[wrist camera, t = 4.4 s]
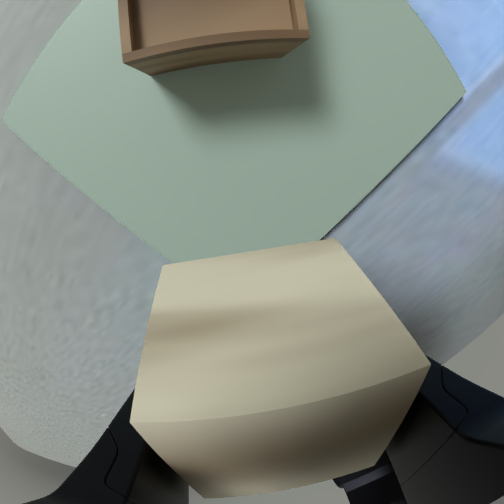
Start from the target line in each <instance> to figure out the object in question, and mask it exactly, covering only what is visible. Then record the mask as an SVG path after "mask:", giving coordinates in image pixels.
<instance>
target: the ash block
mask: <svg viewBox="0 0 504 504" xmlns="http://www.w3.org/2000/svg"><path fill="white" fill-rule="evenodd" d="M430 366H431V363H430V362H429V360H428V359H427V357H426V356H425V354H424V353H423V351H422V350H421V349H420V347H419V346H418V344H417V343H416V342H415V340H414V339H413V337H412V336H411V334H410V333H409V332H408V330H407V329H406V328H405V326H404V325H403V323H402V322H401V321H400V319H399V318H398V317H397V315H396V314H395V313H394V311H393V310H392V309H391V307H390V306H389V305H388V303H387V302H386V301H385V299H384V298H383V297H382V295H381V294H380V293H379V292H378V290H377V289H376V288H375V286H374V285H373V284H372V283H371V281H370V280H369V279H368V278H367V276H366V275H365V274H364V273H363V271H362V270H361V269H360V268H359V266H358V265H357V264H356V263H355V261H354V260H353V259H352V258H351V256H350V255H349V254H348V253H347V252H346V250H345V249H344V248H343V247H342V246H341V244H340V243H339V242H338V241H337V240H336V238H332V239H326V240H319V241H313V242H307V243H300V244H294V245H287V246H281V247H275V248H268V249H262V250H256V251H249V252H243V253H237V254H231V255H224V256H218V257H212V258H205V259H199V260H193V261H186V262H180V263H174V264H167V265H163V266H162V270H161V274H160V278H159V281H158V285H157V289H156V293H155V297H154V301H153V305H152V310H151V314H150V318H149V322H148V327H147V331H146V336H145V341H144V345H143V350H142V355H141V360H140V365H139V370H138V375H137V381H136V386H135V392H134V398H133V404H132V410H131V417H130V423H131V425H132V426H133V427H134V428H135V429H136V431H137V432H138V433H139V434H140V435H141V436H142V437H143V439H144V440H145V441H146V442H147V443H148V444H149V445H150V446H151V447H152V449H153V450H154V451H155V452H156V453H157V454H158V455H159V456H160V457H161V458H162V459H163V460H164V461H165V462H166V463H167V464H168V465H169V466H170V467H171V468H172V469H173V470H174V471H175V472H176V473H177V474H178V475H179V476H180V477H181V478H182V479H183V480H184V481H185V482H187V483H188V484H189V485H190V486H191V487H192V488H193V489H194V490H195V491H197V492H198V493H199V494H200V495H201V496H202V497H204V498H224V497H236V496H246V495H254V494H262V493H268V492H275V491H281V490H286V489H291V488H296V487H301V486H306V485H310V484H314V483H318V482H322V481H326V480H330V479H334V478H337V477H341V476H344V475H347V474H351V473H354V472H357V471H360V470H363V469H366V468H369V467H372V466H374V465H375V464H376V462H377V461H378V459H379V458H380V456H381V455H382V453H383V452H384V450H385V449H386V447H387V446H388V444H389V442H390V441H391V439H392V438H393V436H394V434H395V433H396V431H397V429H398V428H399V426H400V424H401V423H402V421H403V419H404V417H405V416H406V414H407V412H408V410H409V408H410V406H411V405H412V403H413V401H414V399H415V397H416V395H417V393H418V391H419V389H420V387H421V385H422V383H423V381H424V379H425V377H426V375H427V372H428V370H429V368H430Z"/></svg>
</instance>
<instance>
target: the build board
mask: <svg viewBox="0 0 504 504" xmlns="http://www.w3.org/2000/svg"><path fill="white" fill-rule="evenodd" d="M304 3H305V9H306V15H307V22H308V28H309V35H310V39H308V40H307V41H305V42H304V43H302V44H301V45H299V46H298V47H296V48H295V49H293V50H292V51H291V52H289V53H288V54H286V55H285V56H283V57H282V58H272V59H257V60H245V61H235V62H226V63H219V64H211V65H205V66H198V67H193V68H187V69H182V70H176V71H172V72H167V73H162V74H158V75H153V76H149V75H147V74H145V73H143V72H141V71H139V70H137V69H135V68H132V67H130V66H128V65H126V64H124V63H123V60H122V50H121V40H120V28H119V14H118V0H83V1H82V2H81V3H80V4H79V5H78V6H77V7H76V9H75V10H74V11H73V12H72V13H71V14H70V15H69V17H68V18H67V19H66V20H65V21H64V23H63V24H62V25H61V26H60V28H59V29H58V30H57V32H56V33H55V34H54V35H53V37H52V38H51V39H50V41H49V42H48V44H47V45H46V46H45V48H44V49H43V51H42V52H41V53H40V55H39V56H38V58H37V59H36V61H35V62H34V64H33V65H32V67H31V68H30V70H29V72H28V73H27V75H26V76H25V78H24V80H23V81H22V83H21V85H20V87H19V88H18V90H17V92H16V94H15V95H14V97H13V99H12V101H11V103H10V105H9V107H8V109H7V110H6V112H5V114H4V116H3V119H2V121H3V122H4V123H5V124H6V125H7V126H8V127H9V128H10V129H11V130H12V131H13V132H14V133H16V134H17V135H18V136H19V137H20V138H21V139H22V140H23V141H24V142H25V143H26V144H27V145H29V146H30V147H31V148H32V149H33V150H34V151H35V152H36V153H37V154H39V155H40V156H41V157H42V158H43V159H44V160H45V161H47V162H48V163H49V164H50V165H51V166H52V167H53V168H55V169H56V170H57V171H58V172H59V173H60V174H62V175H63V176H64V177H65V178H66V179H67V180H69V181H70V182H71V183H72V184H73V185H74V186H76V187H77V188H78V189H79V190H80V191H82V192H83V193H84V194H85V195H86V196H88V197H89V198H90V199H91V200H93V201H94V202H95V203H96V204H97V205H99V206H100V207H101V208H102V209H104V210H105V211H106V212H107V213H109V214H110V215H111V216H112V217H114V218H115V219H116V220H117V221H119V222H120V223H121V224H123V225H124V226H125V227H126V228H128V229H129V230H130V231H132V232H133V233H134V234H135V235H137V236H138V237H139V238H141V239H142V240H143V241H145V242H146V243H147V244H148V245H150V246H151V247H152V248H154V249H155V250H156V251H158V252H159V253H160V254H162V255H163V256H164V257H166V258H167V259H168V260H170V261H171V262H173V263H180V262H186V261H193V260H199V259H205V258H212V257H218V256H224V255H231V254H237V253H243V252H249V251H256V250H262V249H268V248H275V247H281V246H287V245H294V244H300V243H307V242H313V241H319V240H320V239H321V238H322V237H323V236H324V235H326V234H327V233H328V232H329V231H330V230H331V229H332V228H333V227H334V226H335V225H336V224H337V223H338V222H339V221H340V220H341V219H342V218H343V217H344V216H346V215H347V214H348V213H349V212H350V211H351V210H352V209H353V208H354V207H355V206H356V205H357V204H358V203H359V202H360V201H361V200H362V199H363V198H364V197H365V196H366V195H367V194H368V193H369V192H370V191H371V190H372V189H373V188H374V187H375V186H376V185H377V184H378V183H379V182H380V181H381V180H382V179H383V178H384V177H385V176H386V175H387V174H388V173H389V172H390V171H391V170H392V169H393V168H394V167H395V166H396V165H397V164H398V163H399V162H400V161H401V160H402V159H403V158H404V157H405V156H406V155H407V154H408V153H409V152H410V151H411V150H412V149H413V148H414V147H415V146H416V145H417V144H418V143H419V142H420V141H421V140H422V139H423V138H424V137H425V136H426V135H427V134H428V133H429V132H430V130H431V129H432V128H433V127H434V126H435V125H436V124H437V123H438V122H439V121H440V120H441V119H442V118H443V117H444V116H445V115H446V114H447V112H448V111H449V110H450V109H451V108H452V107H453V106H454V105H455V104H456V103H457V102H458V101H459V99H460V98H461V97H462V96H463V95H464V94H465V93H466V90H465V88H464V86H463V84H462V82H461V80H460V79H459V77H458V75H457V73H456V72H455V70H454V68H453V66H452V65H451V63H450V61H449V60H448V58H447V56H446V55H445V53H444V52H443V50H442V49H441V47H440V45H439V44H438V42H437V41H436V39H435V38H434V37H433V35H432V34H431V32H430V31H429V29H428V28H427V27H426V25H425V24H424V23H423V21H422V20H421V19H420V17H419V16H418V15H417V13H416V12H415V11H414V9H413V8H412V7H411V6H410V4H409V3H408V2H407V1H406V0H304Z"/></svg>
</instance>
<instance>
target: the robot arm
mask: <svg viewBox="0 0 504 504" xmlns="http://www.w3.org/2000/svg"><path fill="white" fill-rule="evenodd" d="M425 356H426V355H425ZM426 357H427V359H428V360H429V362H430V363H431V366H430V368H429V370H428V372H427V375H426V377H425V379H424V381H423V383H422V385H421V387H420V389H419V391H418V393H417V395H416V397H415V399H414V401H413V403H412V405H411V406H410V408H409V410H408V412H407V414H406V416H405V417H404V419H403V421H402V423H401V424H400V426H399V428H398V429H397V431H396V433H395V434H394V436H393V438H392V439H391V441H390V442H389V444H388V446H387V447H386V449H385V450H384V452H383V453H382V455H381V456H380V458H379V459H378V461H377V462H376V464H375V465H374V466H372V467H369V468H366V469H363V470H360V471H357V472H354V473H351V474H347V475H344V476H341V477H337V478H334V479H333V480H334V482H335V483H336V485H337V486H338V487H339V488H344V490H345V492H346V494H347V496H348V499H349V502H350V504H504V398H503V397H502V396H499V395H497V394H495V393H493V392H491V391H489V390H487V389H485V388H482V387H480V386H478V385H476V384H474V383H472V382H470V381H468V380H467V379H465V378H463V377H461V376H459V375H458V374H456V373H454V372H452V371H451V370H449V369H448V368H446V367H444V366H441V364H439V363H438V362H436V361H435V360H433V359H431V358H430V357H428V356H426ZM134 392H135V389H134V390H133V392H132V393H131V395H130V396H129V397H128V399H127V400H126V402H125V403H124V405H123V406H122V407H121V409H120V410H119V412H118V413H117V415H116V416H115V417H114V419H113V420H112V422H111V423H110V425H109V428H107V429H106V430H105V432H104V433H103V435H102V436H101V438H100V439H99V440H98V442H97V443H96V444H95V446H94V447H93V448H92V450H91V451H90V452H89V453H88V455H87V456H86V457H85V458H84V459H83V461H82V462H81V463H80V464H79V465H78V466H77V467H76V469H75V470H74V471H73V472H72V473H71V474H70V476H69V477H68V478H67V479H66V480H65V481H64V482H63V483H62V485H61V486H60V487H59V488H58V489H56V490H55V491H54V492H53V493H51V494H50V495H48V496H46V497H43V498H40V499H37V500H34V501H30V502H27V503H23V504H189V503H188V502H189V498H188V497H189V493H188V491H189V489H188V488H189V484H188V483H187V482H185V481H184V480H183V479H182V478H181V477H180V476H179V475H178V474H177V473H176V472H175V471H174V470H173V469H172V468H171V467H170V466H169V465H168V464H167V463H166V462H165V461H164V460H163V459H162V458H161V457H160V456H159V455H158V454H157V453H156V452H155V451H154V450H153V449H152V447H151V446H150V445H149V444H148V443H147V442H146V441H145V440H144V439H143V437H142V436H141V435H140V434H139V433H138V432H137V431H136V429H135V428H134V427H133V426H132V425H131V423H130V417H131V410H132V404H133V398H134Z"/></svg>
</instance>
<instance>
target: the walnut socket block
mask: <svg viewBox="0 0 504 504" xmlns="http://www.w3.org/2000/svg"><path fill="white" fill-rule="evenodd" d="M118 14H119V28H120V40H121V50H122V60H123V63H124V64H126V65H128V66H130V67H132V68H135V69H137V70H139V71H141V72H143V73H145V74H147V75H149V76H153V75H158V74H162V73H167V72H172V71H176V70H182V69H187V68H193V67H198V66H205V65H211V64H219V63H226V62H235V61H245V60H257V59H272V58H282V57H283V56H285V55H286V54H288V53H289V52H291V51H292V50H293V49H295V48H296V47H298V46H299V45H301V44H302V43H304V42H305V41H307V40H308V39H310V35H309V28H308V22H307V15H306V9H305V3H304V0H118Z"/></svg>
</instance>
